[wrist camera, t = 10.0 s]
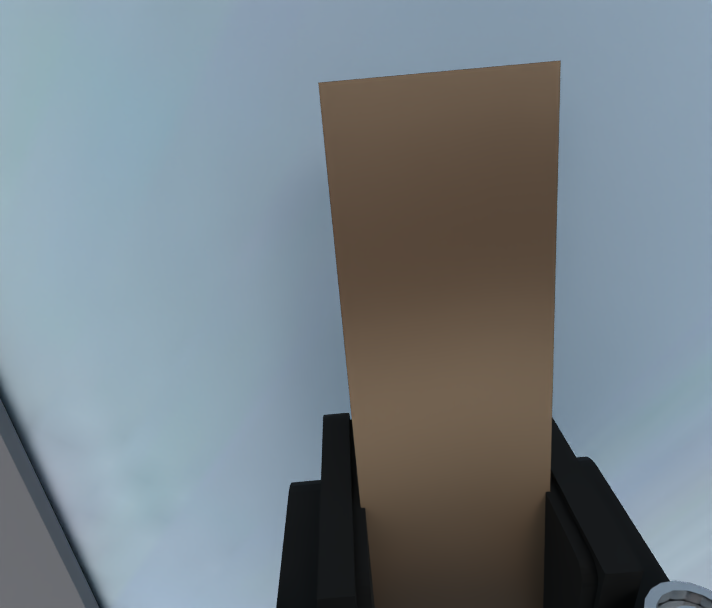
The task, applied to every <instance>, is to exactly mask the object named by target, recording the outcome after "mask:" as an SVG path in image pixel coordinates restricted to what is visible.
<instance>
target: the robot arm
mask: <svg viewBox="0 0 712 608" xmlns="http://www.w3.org/2000/svg"><path fill="white" fill-rule="evenodd" d="M276 608H375V604H374V594H373V584H372V573H371V563H370V553H369V542H368V532H367V522H366V511H365V508H361V505H360V495H359V485H358V475H357V465H356V455H355V445H354V435H353V425H352V419H351V420H350V416H349V413H340V414H329V415H324V416H323V439H322V468H321V480H315V481H304V482H293V483H291V484H290V488H289V496H288V505H287V514H286V523H285V533H284V542H283V551H282V560H281V570H280V579H279V588H278V598H277V607H276ZM543 608H712V591H711V590H709V589H707V588H704V587H701V586H698V585H696V584H693V583H688V582H681V581H669V579H668V577H667V576H666V574H665V573H664V571H663V570H662V568H661V566H660V565H659V563H658V562H657V560H656V559H655V557H654V555H653V554H652V552H651V551H650V549H649V548H648V546H647V544H646V543H645V541H644V540H643V538H642V536H641V535H640V533H639V532H638V530H637V529H636V527H635V525H634V524H633V522H632V521H631V519H630V518H629V516H628V514H627V513H626V511H625V510H624V508H623V506H622V505H621V503H620V502H619V500H618V499H617V497H616V495H615V494H614V492H613V491H612V489H611V488H610V486H609V484H608V483H607V481H606V480H605V478H604V477H603V475H602V473H601V472H600V470H599V469H598V467H597V466H596V464H595V463H594V462H593V460H592V459H590V458H589V457H577V458H576V456H575V455H574V453H573V451H572V450H571V448H570V446H569V444H568V443H567V441H566V439H565V438H564V436H563V434H562V433H561V431H560V429H559V428H558V426H557V424H556V423H555V421H554V419H553V418H552V433H551V474H550V492H546V501H545V547H544V593H543Z"/></svg>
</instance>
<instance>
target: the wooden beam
mask: <svg viewBox="0 0 712 608" xmlns="http://www.w3.org/2000/svg"><path fill="white" fill-rule="evenodd" d="M560 64H561V61H551V62H540V63H529V64H518V65H507V66H496V67H485V68H474V69H463V70H452V71H441V72H430V73H419V74H408V75H397V76H387V77H376V78H365V79H354V80H343V81H332V82H321V83H318V84H319V94H320V104H321V114H322V124H323V134H324V144H325V154H326V164H327V174H328V184H329V194H330V204H331V214H332V224H333V234H334V244H335V254H336V264H337V274H338V284H339V294H340V304H341V314H342V324H343V335H344V345H345V355H346V365H347V375H348V385H349V395H350V405H351V415H352V425H353V435H354V445H355V455H356V465H357V475H358V485H359V495H360V505H361V508H365V511H366V522H367V532H368V542H369V553H370V563H371V573H372V584H373V594H374V604H375V608H543V593H544V547H545V501H546V492H550V474H551V433H552V392H553V351H554V310H555V269H556V228H557V187H558V146H559V105H560Z"/></svg>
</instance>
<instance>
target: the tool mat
mask: <svg viewBox="0 0 712 608" xmlns="http://www.w3.org/2000/svg"><path fill="white" fill-rule="evenodd" d="M0 608H99V606H98V604H97V602H96V600H95V598H94V596H93V594H92V591H91V589H90V587H89V585H88V583H87V581H86V579H85V577H84V575H83V572H82V570H81V568H80V566H79V564H78V562H77V560H76V558H75V556H74V553H73V551H72V549H71V547H70V545H69V543H68V541H67V539H66V536H65V534H64V532H63V530H62V528H61V526H60V524H59V522H58V520H57V517H56V515H55V513H54V511H53V509H52V507H51V505H50V503H49V501H48V498H47V496H46V494H45V492H44V490H43V488H42V486H41V484H40V482H39V479H38V477H37V475H36V473H35V471H34V469H33V467H32V465H31V462H30V460H29V458H28V456H27V454H26V452H25V450H24V448H23V446H22V443H21V441H20V439H19V437H18V435H17V433H16V431H15V429H14V427H13V424H12V422H11V420H10V418H9V416H8V414H7V412H6V410H5V408H4V405H3V403H2V401H1V399H0Z"/></svg>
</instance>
